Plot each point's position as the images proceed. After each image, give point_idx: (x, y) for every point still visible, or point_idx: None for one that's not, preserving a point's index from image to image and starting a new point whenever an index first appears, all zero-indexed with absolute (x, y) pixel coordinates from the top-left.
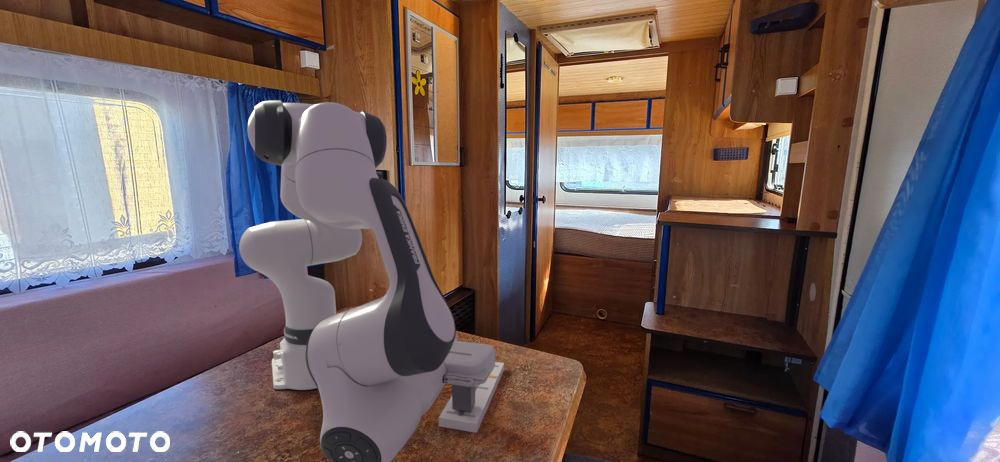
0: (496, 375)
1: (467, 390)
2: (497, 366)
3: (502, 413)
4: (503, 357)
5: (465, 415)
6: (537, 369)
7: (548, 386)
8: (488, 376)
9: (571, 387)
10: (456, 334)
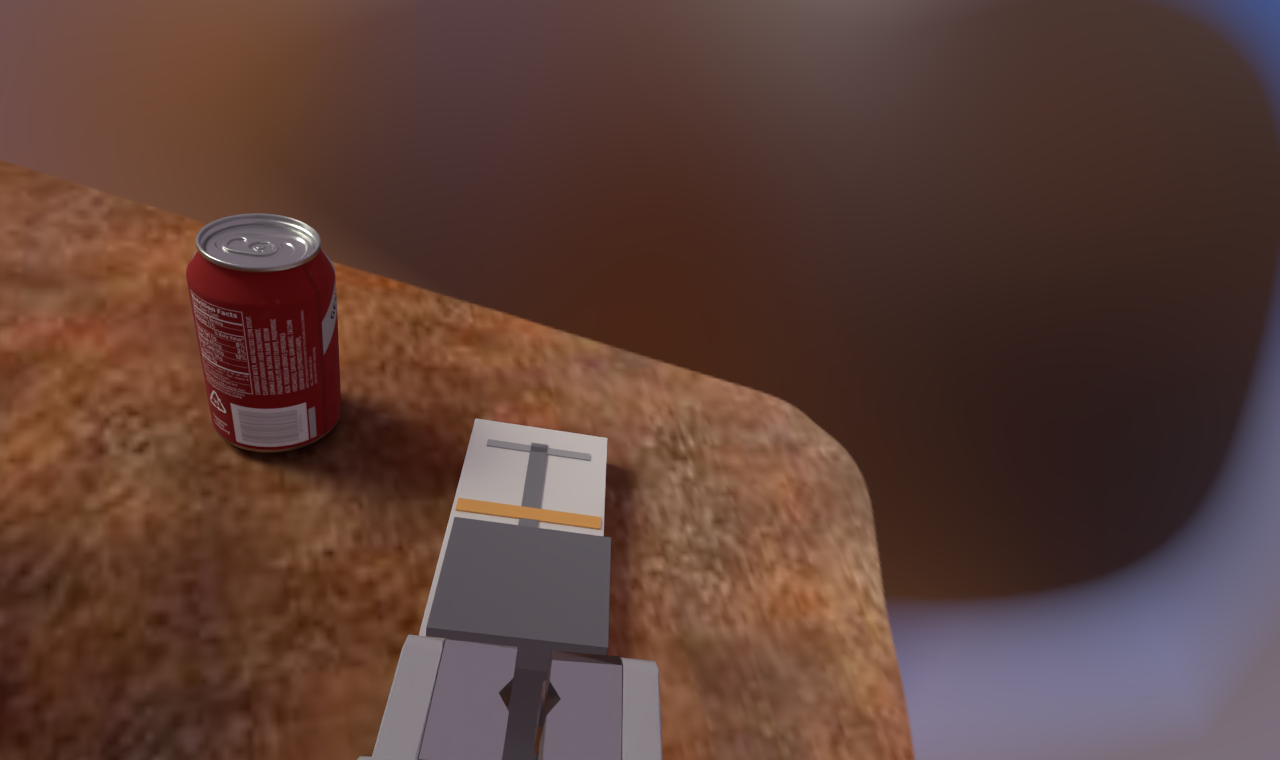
0: (595, 511)
1: None
2: (586, 459)
3: (666, 729)
4: (581, 395)
5: None
6: (723, 453)
7: (793, 540)
8: (564, 521)
9: (872, 539)
10: (653, 685)
